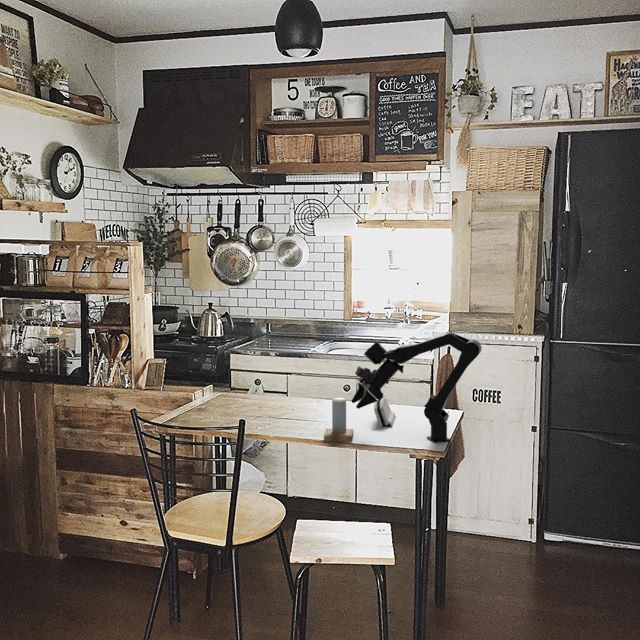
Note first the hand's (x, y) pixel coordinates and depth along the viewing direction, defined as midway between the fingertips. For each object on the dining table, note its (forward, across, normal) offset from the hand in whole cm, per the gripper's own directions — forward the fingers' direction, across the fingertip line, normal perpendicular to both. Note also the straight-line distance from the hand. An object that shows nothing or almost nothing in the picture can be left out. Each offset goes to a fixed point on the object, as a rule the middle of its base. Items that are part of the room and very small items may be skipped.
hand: (354, 405), depth 279 cm
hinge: (-2, -21, +20) cm, 29 cm away
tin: (+11, 0, +3) cm, 11 cm away
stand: (+12, 0, +4) cm, 13 cm away
